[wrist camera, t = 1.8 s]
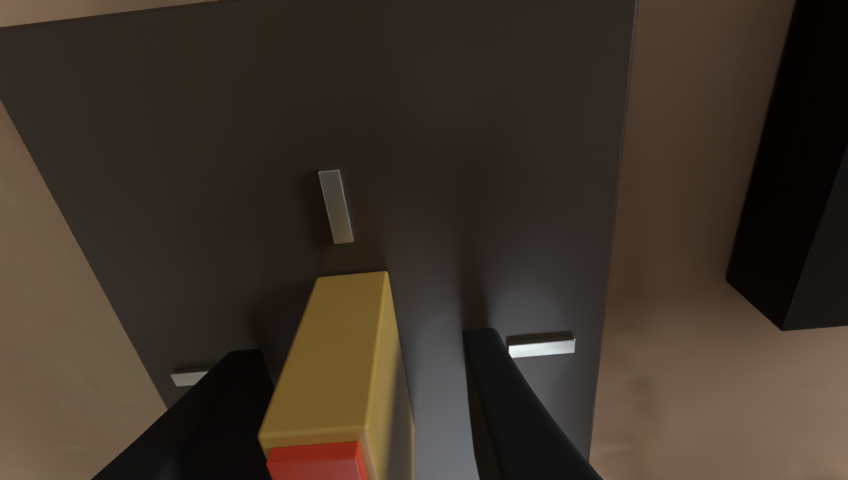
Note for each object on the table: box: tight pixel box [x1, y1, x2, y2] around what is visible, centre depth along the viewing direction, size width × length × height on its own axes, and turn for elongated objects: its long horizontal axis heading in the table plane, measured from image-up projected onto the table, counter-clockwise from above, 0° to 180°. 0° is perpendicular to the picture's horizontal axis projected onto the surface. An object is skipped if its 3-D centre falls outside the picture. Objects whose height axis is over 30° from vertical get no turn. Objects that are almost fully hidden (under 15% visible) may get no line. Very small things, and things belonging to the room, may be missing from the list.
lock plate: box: [0, 0, 638, 480], centre depth 11 cm, size 14×10×3 cm
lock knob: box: [258, 271, 415, 480], centre depth 8 cm, size 4×1×4 cm, turn 6°
